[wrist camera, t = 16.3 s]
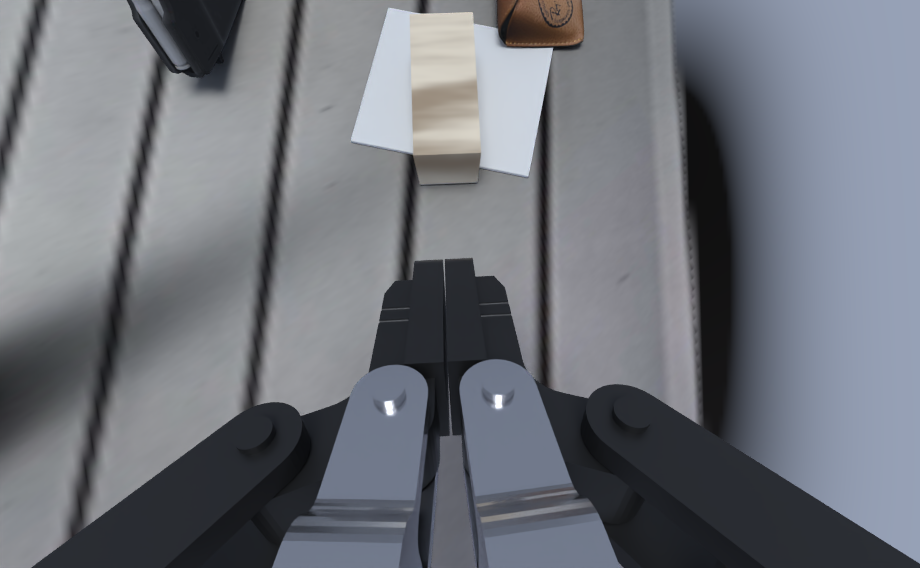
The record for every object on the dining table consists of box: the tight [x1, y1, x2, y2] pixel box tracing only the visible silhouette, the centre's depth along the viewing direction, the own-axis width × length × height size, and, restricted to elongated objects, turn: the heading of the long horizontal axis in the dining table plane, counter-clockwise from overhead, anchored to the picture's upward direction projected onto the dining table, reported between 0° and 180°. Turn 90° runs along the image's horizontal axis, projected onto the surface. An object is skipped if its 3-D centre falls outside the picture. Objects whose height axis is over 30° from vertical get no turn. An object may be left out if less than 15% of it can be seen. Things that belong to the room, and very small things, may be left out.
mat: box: [351, 8, 553, 178], centre depth 34 cm, size 14×16×1 cm
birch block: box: [410, 12, 481, 185], centre depth 31 cm, size 5×5×12 cm
